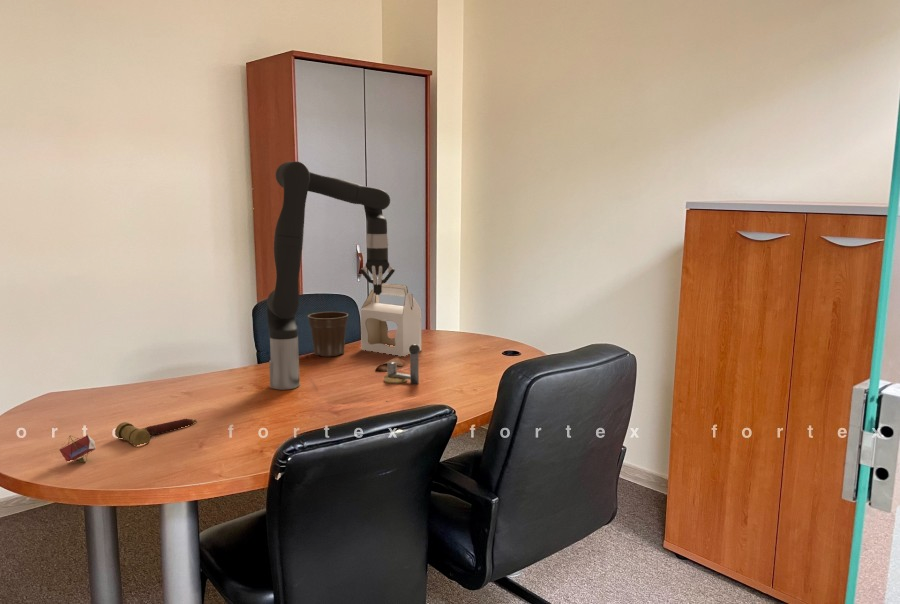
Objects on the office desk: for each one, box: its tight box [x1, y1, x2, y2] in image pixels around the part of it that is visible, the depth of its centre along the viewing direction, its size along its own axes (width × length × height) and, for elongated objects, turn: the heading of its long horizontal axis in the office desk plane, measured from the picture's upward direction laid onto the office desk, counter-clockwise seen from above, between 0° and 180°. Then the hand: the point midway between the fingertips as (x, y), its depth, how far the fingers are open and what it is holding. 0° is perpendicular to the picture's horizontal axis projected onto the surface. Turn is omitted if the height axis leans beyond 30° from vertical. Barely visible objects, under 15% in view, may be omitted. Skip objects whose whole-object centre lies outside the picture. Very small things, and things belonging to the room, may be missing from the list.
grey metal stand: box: [383, 344, 421, 385], centre depth 232 cm, size 13×8×14 cm, turn 62°
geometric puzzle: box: [59, 434, 96, 462], centre depth 167 cm, size 7×7×8 cm
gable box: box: [360, 282, 422, 357], centre depth 282 cm, size 22×13×28 cm, turn 58°
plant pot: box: [307, 311, 349, 358], centre depth 277 cm, size 16×16×16 cm
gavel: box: [114, 418, 198, 447], centre depth 187 cm, size 21×5×10 cm
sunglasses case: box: [374, 356, 409, 373], centre depth 253 cm, size 18×7×7 cm
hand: (377, 294), depth 245 cm, fingers closed
